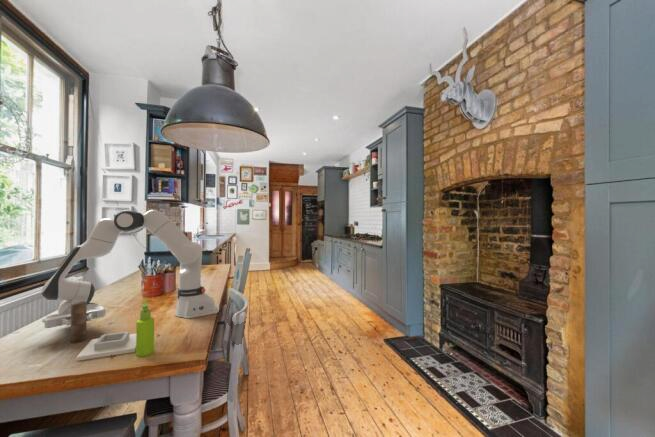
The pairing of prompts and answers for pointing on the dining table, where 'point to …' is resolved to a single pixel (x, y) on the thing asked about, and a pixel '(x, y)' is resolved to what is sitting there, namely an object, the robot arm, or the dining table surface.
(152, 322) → the soap dispenser
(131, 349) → the stool seat
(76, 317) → the walnut leg
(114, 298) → the dining table surface
